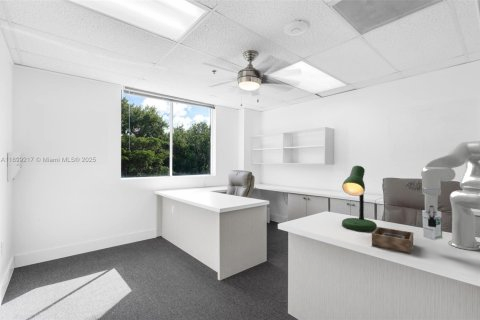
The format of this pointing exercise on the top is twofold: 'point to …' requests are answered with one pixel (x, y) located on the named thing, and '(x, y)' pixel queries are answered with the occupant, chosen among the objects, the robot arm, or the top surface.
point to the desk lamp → (357, 188)
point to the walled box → (393, 239)
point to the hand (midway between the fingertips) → (432, 224)
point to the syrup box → (432, 232)
